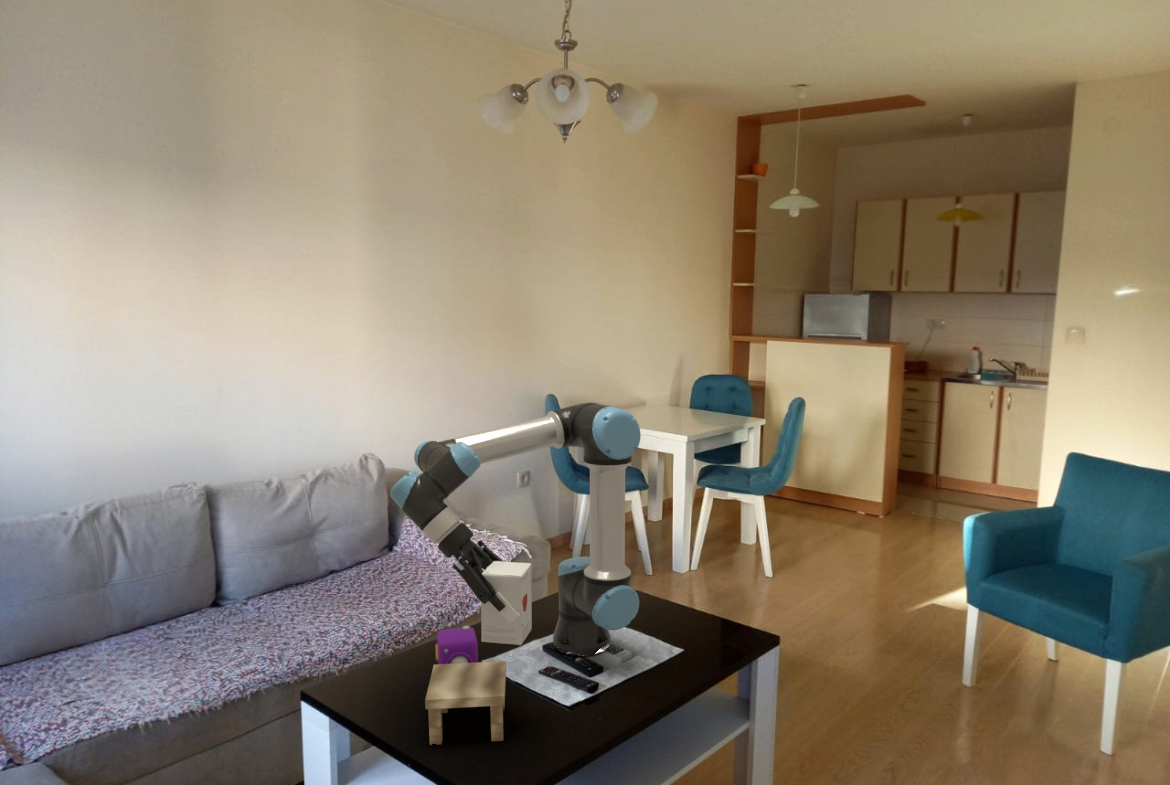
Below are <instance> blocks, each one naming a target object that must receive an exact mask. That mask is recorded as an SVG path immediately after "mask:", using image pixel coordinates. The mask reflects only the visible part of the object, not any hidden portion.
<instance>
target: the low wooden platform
mask: <svg viewBox="0 0 1170 785" xmlns="http://www.w3.org/2000/svg"><path fill="white" fill-rule="evenodd" d="M506 678H507V661H506V660H502V661H497V660H496V661H482V662H480V661H478V662H476V663H456V664H438V663H437V664H433V667H432V671H431V675H430V679H429V683H428V687H427V692H426V696H425V699H424V705H425V710H427V711H428V712H427V713H428V730H429V732H428V736H429V745H430V746H433V745H432V744H436V745H443V738H444V737H443V736H444V734H443V714H447V713H448V712H449V709H456V708H458V709H459V708H477V707H490V710H489V711H490V735H491V736H490V737H491V739H490V740H491V742H501V741H502V742H503V741H504V711H505V709H506V708H505V707H506V705H505V704H506V701H505V700H506V684H507V683H506V681H507V680H506Z"/></svg>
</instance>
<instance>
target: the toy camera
mask: <svg viewBox="0 0 1170 785" xmlns="http://www.w3.org/2000/svg"><path fill="white" fill-rule="evenodd" d="M436 639H437V640H436V644H435V647H434V648H435V661H437V662H438V663H437V664H456V663H476V662H479V653H478V652H479V651H478V650H479V648H478V639H477V635H476V631H475V628H473V627H470V625H464V626H462V627H456V628H447V629H446V628H445V629H442V630H440V631H438V632H437V636H436Z"/></svg>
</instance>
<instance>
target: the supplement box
mask: <svg viewBox="0 0 1170 785" xmlns="http://www.w3.org/2000/svg"><path fill="white" fill-rule="evenodd" d="M503 561H504V560H503ZM503 561H494V562H493V563H492V564H491V565H490V566H488V567H487V569H486V570H483V571H484V572H483V573H482V575H483V576H484V577H485V578H486V579H487V581H488V582H489V583H490V584H491V585H492V587H493V589H494V590H495V592H496V593H497V592H499V593H500V594H501V595H502V596H503V597H504V598H505V599H506V600H507V601H508V602H509V603H510V604H511V606H512V607H513V608H514V609H515V610H516V611H517V612H518V613H519V614H520V615H519V616H518V617H517V618H516V619H515V620H514V621H513V622H512V623H511V624H510V623H509V622H508V621H507V620H506V619H505V618H504V617H503V616H502V615H501V614H500V613H499V612H498V611H497V610H496V609H495V607H494V606H493V605H492V604H491V603H490V602H489V601H488V602H487V603H486V604H484V603H483V602H481V601H480V603H481V605H480V606H481V607H480V608H481V610H480V611H481V612H480V613H481V614H480V616H481V617H480V618H481V627H480V629H481V643H483V642H484V643H492V644H493V643H495V644H503V645H505V644H507V645H518V646H522V644H523V643H524V641H525V640H526V639H527V637H528V635H529V634H530V633H531V631H532V629H533V628H532V625H533V624H532V623H533V622H532V621H533V618H532V615H533V613H532V601H533V596H532V595H533V594H532V592H533V590H532V563H529V562H516V561H515V562H513V561H504V562H503ZM481 595H482V594H481Z"/></svg>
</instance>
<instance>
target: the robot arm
mask: <svg viewBox="0 0 1170 785" xmlns="http://www.w3.org/2000/svg"><path fill="white" fill-rule="evenodd" d="M641 438H642V437H641V428H640V424H639V423H638V421H637V419H636V418H635V417H634V415H632V413H630V412H628V411H627V410H624V409H623V408H621V407H618V406H612V405H608V404H607V405H605V404H601V403H596V402H583V403H578V404H574V405H569V406H566V407H563V408H559V409H556V410H554V409H553V410H550V411H548V412H547V413H546V414H545V416H543V417H538V418H534V419H529V420H526V421H523V422H522V421H521V422H517V423H513V424H509V425H505V426H501V427H497V428H492V429H488V430H484V431H480V432H475V433H471V434H468V435H462V436H458V437H455V438H450V439H446V440H441V441H436V440H426V441H424V442H422V443H420V444H419V445H418V446H417V448H415V451H414V456H413V461H414V462H415V466H416V467H417V468H418V469H420V471H421V474H420V473H418V472H416V471H415V470H411V471H409V472H408V473H406V474H405V475H403V476H402V477H401V478H399V480H398V481H397V482H396V483H395V484H394V485H393V486H392V487H391V489H390V491H389V492H390V495H389V496H390V498H391V499H392V500H393V502H395V504H396V505H397V506H398V507H399V508H400V510H401V511H403V513H404V514H405V515H406V516H407V517H408V518H409V519H410V520H411V521H412V522H413V524H415V525H416V526H417V527H418V529H420V530H421V531H422V532H423V533H424V535H425V537H426V538H427V539H429V540H430V541H431V542H432V543H433V544H438V545H437V549H438V551H440V553H442V554H443V555H444V556H445V557H446V558H447V559H450V558H452V557H454V558H455V560H456V562H454V563H453V565H452V567H453V569H454V570H455V571H456V572H457V573H458V574H459V575H460V576H461V577H462V579H463V580H464V582H465V583H466V584H467V585H468V587H469V588H470V590H471V591H472V592H473V594H474V595H475V596H476V598H477V599H478V600H479V601H480V603H481V602H483V603H484V604H486V603H487V602H488V601H489V602H490V603H491V604H492V605H493V606H494V607H495V609H496V610H497V611H498V612H499V613H500V614H501V615H502V616H503V617H504V618H505V619H506V620H507V621H508V622H509V623H510V624H511V623H512V622H513V621H514V620H515V619H516V618H517V617H518V616H519V615H520V614H519V613H518V612H517V611H516V610H515V609H514V608H513V607H512V606H511V604H510V603H509V602H508V601H507V600H506V599H505V598H504V597H503V596H502V595H501V594H500V593H499V592H497V593H496V592H495V590H494V589H493V587H492V585H491V584H490V583H489V582H488V581H487V579H486V578H485V577H484V576H483V575H482V573H483V572H484V571H485V570H486V569H487V567H488V566H490V565H491V564H492V563H493V562H494V561H503V562H505V561H504V560H503V559H502V558H500V557H499V556H498V555H497V554H496V553H495V552H493V551H492V550H491V549H490V548H489V547H488V546H487V545H486V544H485V543H484V542H483V541H482V540H481V539H479V540H478V542H477V543H475V542H474V541H473V540H471V539H472V538H473V536H474V533H473V530H471V528H469V527H468V526H467V524H465V523H464V522H461V518H460V516H458V515H457V514H456V513H455V512H454V511H453V510H452V508H450V507H449V506H448V504H446V502H444V501H445V500H446V499H447V498H449V496H450V495H452V493H454V492H455V491H456V490H457V489H458V488H460V486H462V485H463V484H464V483H466V481H467V480H469V478H471V477H472V476H473V475H474V473H476V472H477V470H479V468H480V467H481V465H484V464H487V463H491V462H494V461H498V460H499V461H500V460H504V459H507V458H510V457H515V456H519V455H523V454H526V453H531V452H535V451H539V450H543V449H547V448H552V447H553V448H555V449H557V450H558V449H559V450H560V449H563V448H567V447H570V448H571V447H573V448H574V447H575V448H576V447H577V448H582V449H583V463H584V464H585V466H586V467H587V468H588V469H589V556H577V557H576V556H575V557H572V558H571V557H570V558H567V559H564V560H563V561H561V562H560V563H559V564H558V569H557V570H558V572H557V579H558V584H557V587H558V619H557V622H556V625H555V629H554V632H553V636H552V644H553V643H554V644H555V645H556V646H558V647H560V648H562V649H564V650H567V651H570V652H574V653H577V654H580V655H584V656H583V657H591V655H592V656H595V655H594V654H595V653H596V652H597V651H598V650H599V649H600V648H602V647H604V646H606V645H607V644H609V643H610V644H611V634H610V631H619V630H621V629H623V628H625V627H626V626H628V625H630V623H631V622H632V620H634V619H635V617H636V616H637V614H638V612H639V608H640V598H639V595H638V593H637V591H636V590H635V589H634V588H633V587H632V571H631V569H630V568H629V567H628V566H627V565H626V558H625V557H626V538H625V537H626V469H627V468H628V467H629V466H630V465H631V464H632V462H633V460H632V455H634V453H635V452H636V450H637V449H638V448H639V446H640V443H641ZM481 594H482V595H481ZM585 655H586V656H585Z"/></svg>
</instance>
